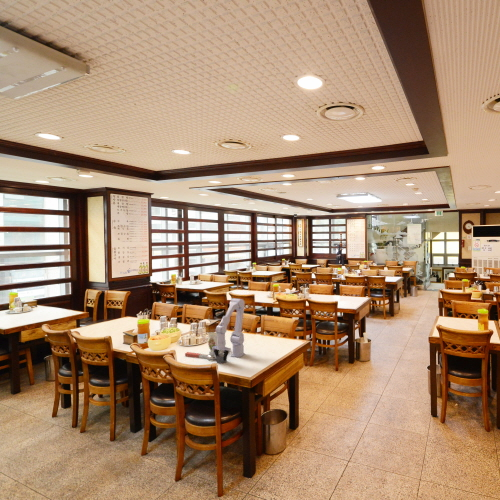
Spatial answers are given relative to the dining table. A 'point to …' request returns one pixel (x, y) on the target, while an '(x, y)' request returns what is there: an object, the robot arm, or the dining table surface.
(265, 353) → the dining table surface
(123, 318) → the dining table surface
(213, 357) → the ratchet
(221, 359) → the socket
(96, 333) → the dining table surface
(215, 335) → the pitcher
